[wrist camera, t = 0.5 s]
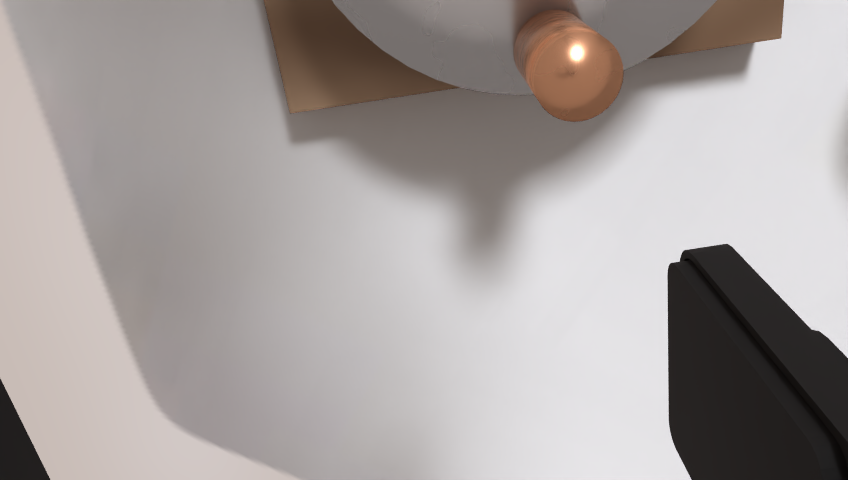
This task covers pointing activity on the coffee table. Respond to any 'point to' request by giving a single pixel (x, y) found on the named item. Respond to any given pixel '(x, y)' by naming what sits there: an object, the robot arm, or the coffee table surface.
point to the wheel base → (388, 78)
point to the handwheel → (527, 43)
